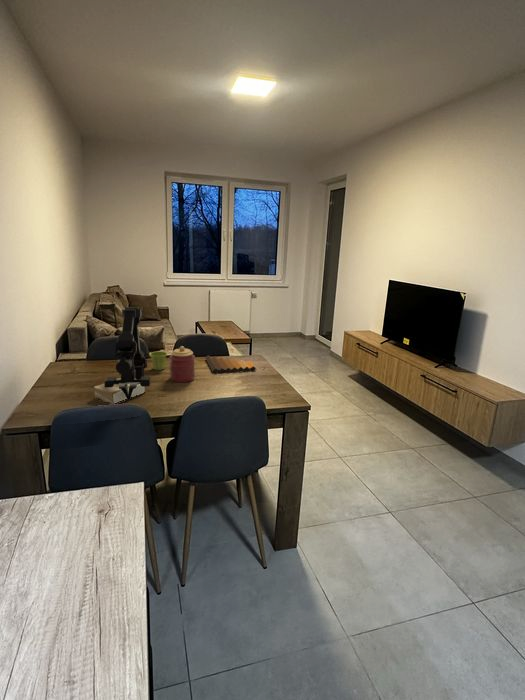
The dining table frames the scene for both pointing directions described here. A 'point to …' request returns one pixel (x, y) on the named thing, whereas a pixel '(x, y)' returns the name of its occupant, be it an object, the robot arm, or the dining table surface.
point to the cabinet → (107, 391)
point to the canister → (182, 365)
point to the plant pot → (158, 360)
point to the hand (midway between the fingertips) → (129, 399)
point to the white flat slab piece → (121, 396)
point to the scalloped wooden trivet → (228, 365)
